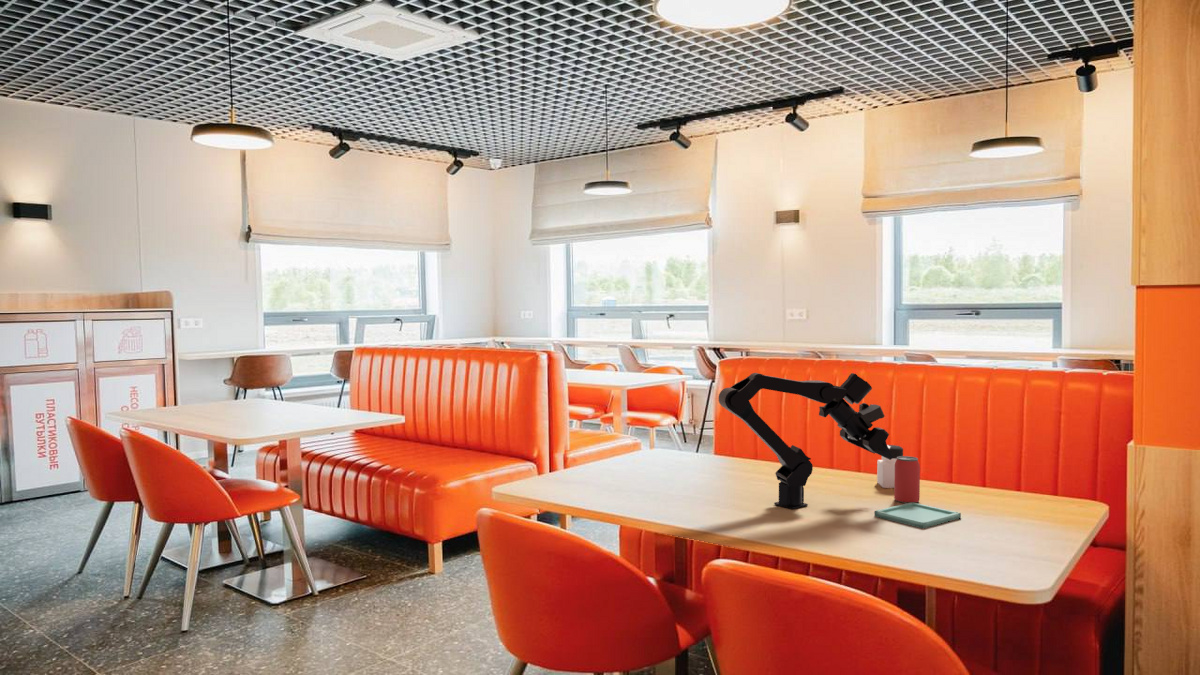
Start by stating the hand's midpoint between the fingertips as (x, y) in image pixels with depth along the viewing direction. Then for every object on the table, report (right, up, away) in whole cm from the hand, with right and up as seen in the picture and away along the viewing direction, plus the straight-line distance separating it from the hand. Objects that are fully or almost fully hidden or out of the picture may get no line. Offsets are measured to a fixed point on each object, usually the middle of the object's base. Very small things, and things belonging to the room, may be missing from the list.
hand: (883, 455), depth 224 cm
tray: (+3, -14, -16) cm, 21 cm away
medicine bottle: (+10, -12, +21) cm, 26 cm away
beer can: (+7, -13, +2) cm, 15 cm away
